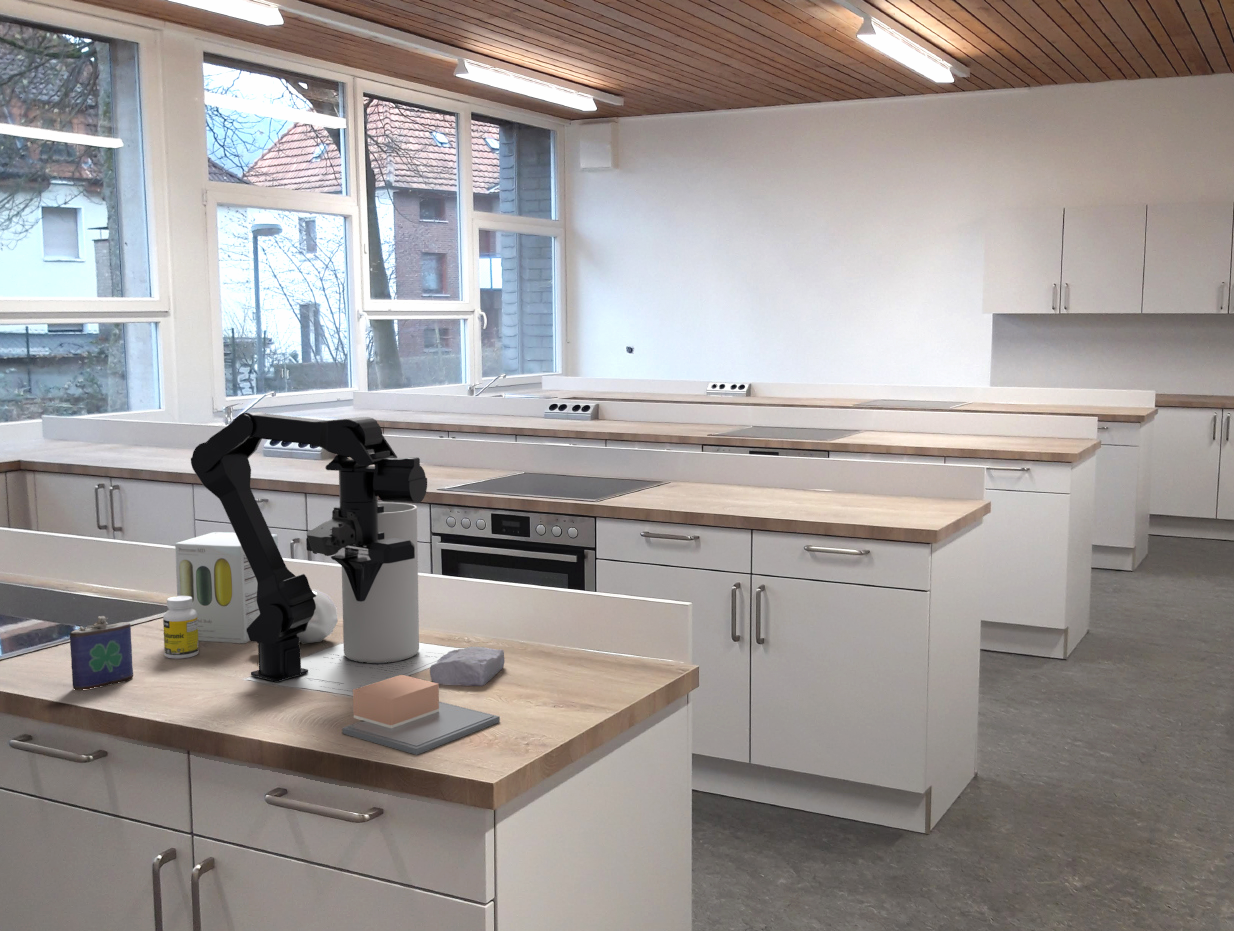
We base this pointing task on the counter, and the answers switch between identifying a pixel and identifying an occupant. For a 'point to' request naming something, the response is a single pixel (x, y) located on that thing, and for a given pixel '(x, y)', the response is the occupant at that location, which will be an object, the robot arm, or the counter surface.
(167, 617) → the supplement bottle
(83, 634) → the flask
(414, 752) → the slate board
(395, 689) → the salmon orange block
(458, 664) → the stone block
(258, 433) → the robot arm
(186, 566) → the supplement box
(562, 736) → the counter surface
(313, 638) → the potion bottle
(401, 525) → the cylinder vase
